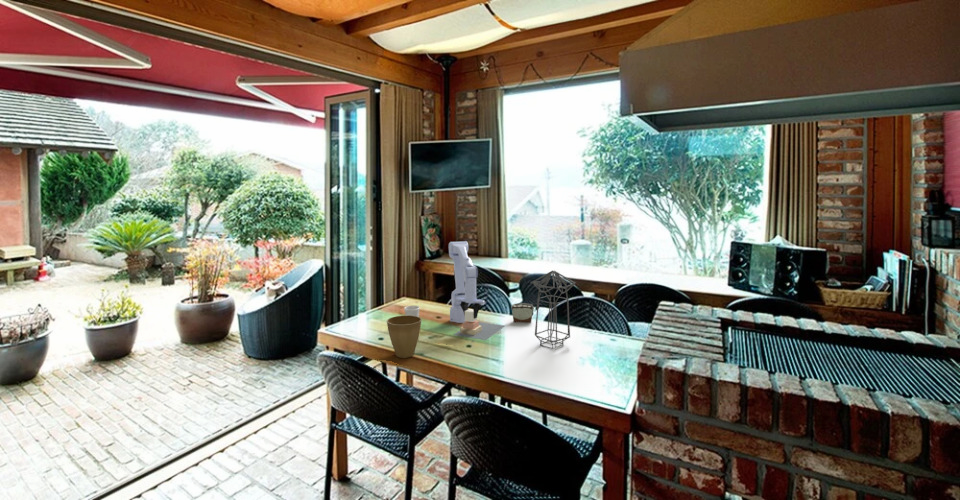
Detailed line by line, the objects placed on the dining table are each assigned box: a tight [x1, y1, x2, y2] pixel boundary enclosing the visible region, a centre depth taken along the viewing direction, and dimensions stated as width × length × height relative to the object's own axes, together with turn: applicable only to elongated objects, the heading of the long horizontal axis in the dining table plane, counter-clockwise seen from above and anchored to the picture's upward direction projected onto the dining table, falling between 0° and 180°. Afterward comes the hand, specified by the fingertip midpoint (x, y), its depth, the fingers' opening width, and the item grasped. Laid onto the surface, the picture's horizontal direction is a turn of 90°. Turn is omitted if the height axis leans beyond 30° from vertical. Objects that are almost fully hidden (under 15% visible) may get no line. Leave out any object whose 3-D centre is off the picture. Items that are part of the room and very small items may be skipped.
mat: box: [452, 321, 505, 341], centre depth 225 cm, size 18×24×1 cm
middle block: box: [462, 320, 480, 329], centre depth 222 cm, size 6×6×2 cm
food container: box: [510, 302, 535, 324], centre depth 239 cm, size 12×6×10 cm, turn 84°
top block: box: [465, 308, 478, 322], centre depth 221 cm, size 5×5×5 cm
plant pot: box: [386, 315, 422, 359], centre depth 193 cm, size 15×15×16 cm
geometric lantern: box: [530, 270, 576, 350], centre depth 202 cm, size 16×16×35 cm
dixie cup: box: [403, 305, 421, 317], centre depth 235 cm, size 8×8×10 cm
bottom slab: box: [459, 325, 482, 335], centre depth 222 cm, size 8×8×2 cm
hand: (470, 317), depth 221 cm, fingers closed on top block, 5 cm apart
